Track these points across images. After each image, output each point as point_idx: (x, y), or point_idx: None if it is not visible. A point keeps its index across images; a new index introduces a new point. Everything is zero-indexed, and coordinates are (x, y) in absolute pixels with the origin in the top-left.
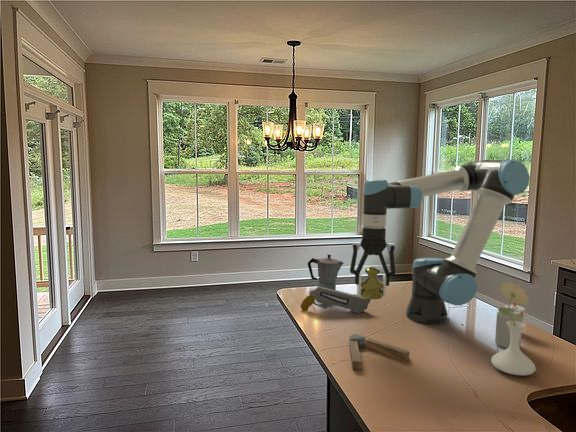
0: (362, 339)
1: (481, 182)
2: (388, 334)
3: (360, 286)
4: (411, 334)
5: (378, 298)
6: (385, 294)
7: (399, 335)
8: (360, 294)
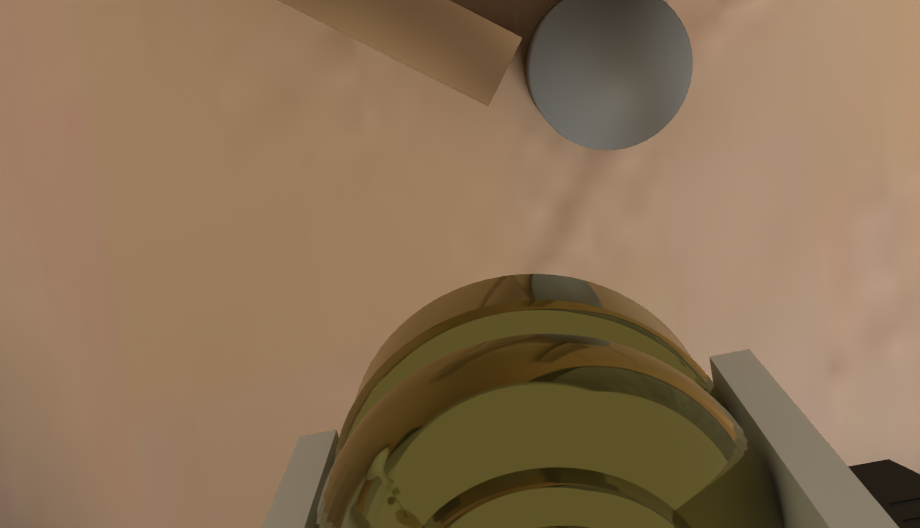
0: (557, 32)
1: None
2: (354, 378)
3: (774, 431)
4: (168, 438)
5: (401, 326)
6: (293, 453)
7: (261, 387)
8: (718, 362)
